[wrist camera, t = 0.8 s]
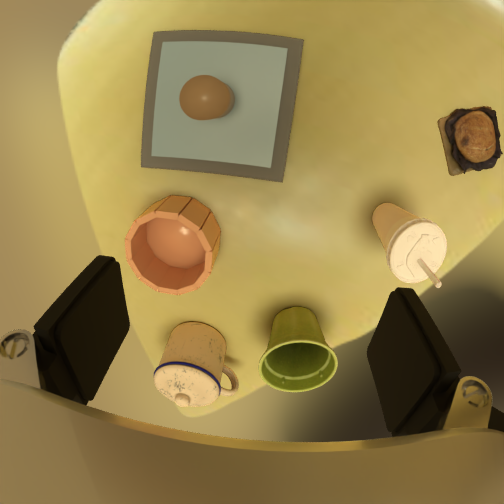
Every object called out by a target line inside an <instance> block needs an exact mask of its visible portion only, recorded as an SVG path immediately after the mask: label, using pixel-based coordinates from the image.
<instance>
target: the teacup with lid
mask: <svg viewBox="0 0 504 504" xmlns="http://www.w3.org/2000/svg"><path fill="white" fill-rule="evenodd" d="M225 353H226V343H225V340H224V338H223V337H222V335H221V334H220V333H219V332H218V331H217V330H215V329H214V328H212V327H210V326H208V325H206V324H203V323H198V322H187V323H183V324H180V325H178V326H177V327H176V328H175V329H174V330H173V331H172V333H171V335H170V338H169V340H168V343H167V346H166V348H165V351H164V353H163V356H162V358H161V361H160V364H159V366H158V367H157V368H156V370H155V372H154V382H155V385H156V387H157V389H158V390H159V391H160V392H161V393H162V394H163V395H164V396H165V397H167V398H168V399H170V400H172V401H174V402H175V403H176V404H177V405H178V406H181V407H187V406H193V407H198V406H205V405H209V404H211V403H213V402H214V401H215V400H216V399H217V398H218V396H219V395H220V394H221V395H223V396H231V395H233V394H235V393H236V392H237V390H238V386H239V384H238V379H237V377H236V375H235V373H234V372H233V371H232V370H231V369H230V368H228V367H227V366H225V365H223V364H224V358H225ZM222 372H223V373H225V374H226V375H227V376H228V377H229V379H230V381H231V384H232V389H231V390H228V389H225V388H222V387H221V386H220V382H221V376H222Z"/></svg>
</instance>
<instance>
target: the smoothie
mask: <svg viewBox="0 0 504 504" xmlns="http://www.w3.org/2000/svg"><path fill="white" fill-rule="evenodd" d="M372 222H373V225H374V227H375V229H376V231H377V234H378V236H379V238H380V240H381V242H382V245H383V247H384V249H385V252H386V254H387V255H386V258H387V263H388V266H389V268H390V270H391V271H392V272H393V273H394V275H395V276H396V277H397V278H398V279H399V280H401V281H403V282H406V283H417V282H421V281H423V280H426V279H427V278H430V279H431V281H432V282H433V283H434V285H435V286H436V287H437V288H439V287H441V282H440V281H439V279H438V278H437V277H436V276H435V274H434V273H435V272H436V271H437V270H438V269H439V267H440V266H441V264H442V262H443V260H444V258H445V255H446V250H447V241H446V237H445V235H444V233H443V231H442V230H441V229H440V228H439V227H438V225H437V224H436V223H434V222H433V221H431V220H429V219H425V218H419V217H417V216H415V215H413V214H411V213H410V212H408V211H406V210H404V209H402V208H400V207H398V206H396V205H394V204H392V203H383V204H381V205H379V206H378V207H377V208H376V209H375V210H374V212H373V215H372Z"/></svg>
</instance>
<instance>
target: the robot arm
mask: <svg viewBox="0 0 504 504" xmlns="http://www.w3.org/2000/svg"><path fill="white" fill-rule="evenodd" d="M129 326H130V322H129V316H128V311H127V306H126V300H125V295H124V289H123V283H122V276H121V269H120V264H119V262H116V260H115V258H114V257H109V256H102V255H99V256H97V257H96V258H95V259H94V260H93V261H92V262H91V263H90V264H89V265H88V266H87V267H86V268H85V269H84V270H83V271H82V272H81V273H80V274H79V275H78V277H77V278H76V279H75V280H74V281H73V282H72V283H71V284H70V285H69V286H68V287H67V288H66V289H65V291H64V292H63V293H62V294H61V295H60V296H59V297H58V298H57V300H56V301H55V302H54V303H53V304H52V305H51V306H50V308H49V309H48V310H47V311H46V312H45V313H44V314H43V316H42V317H41V318H40V319H39V320H38V322H37V323H36V324H35V325H34V329H35V332H34V334H33V335H32V334H31V333H30V332H29V331H26V330H21V329H18V330H13V331H10V332H8V333H7V334H5V335H4V336H3V337H2V338H1V339H0V504H504V413H502V412H501V411H499V410H497V409H496V408H494V407H492V394H491V391H490V389H489V388H488V386H487V385H486V384H485V383H484V382H483V381H482V380H480V379H478V378H476V377H471V376H467V377H464V378H463V379H461V380H460V379H459V377H458V375H459V374H460V372H461V369H460V368H459V366H458V364H457V362H456V360H455V358H454V356H453V355H452V353H451V351H450V349H449V347H448V345H447V344H446V342H445V340H444V338H443V337H442V335H441V333H440V331H439V330H438V328H437V326H436V325H435V323H434V321H433V320H432V318H431V316H430V315H429V313H428V311H427V310H426V308H425V307H424V305H423V303H422V302H421V300H420V299H419V297H418V296H417V294H416V293H415V291H414V290H413V289H411V288H400V287H398V288H396V290H395V291H392V292H391V293H390V295H389V298H388V301H387V303H386V306H385V308H384V311H383V313H382V316H381V318H380V321H379V323H378V325H377V328H376V330H375V332H374V335H373V337H372V339H371V342H370V344H369V346H368V349H367V357H368V361H369V364H370V368H371V371H372V374H373V378H374V381H375V385H376V388H377V392H378V396H379V399H380V403H381V406H382V410H383V414H384V418H385V422H386V426H387V429H388V431H389V432H392V436H393V437H391V438H382V439H372V440H360V441H345V442H275V441H260V440H247V439H237V438H228V437H220V436H212V435H206V434H199V433H193V432H188V431H182V430H177V429H171V428H167V427H162V426H158V425H153V424H149V423H145V422H141V421H137V420H133V419H129V418H125V417H122V416H118V415H115V414H112V413H108V412H105V411H102V410H99V409H96V408H92V407H89V406H86V405H87V403H88V401H91V400H93V399H94V396H95V395H96V393H97V391H98V389H99V387H100V385H101V383H102V381H103V379H104V376H105V375H106V373H107V371H108V369H109V367H110V365H111V363H112V361H113V359H114V357H115V355H116V353H117V352H118V350H119V348H120V346H121V344H122V342H123V340H124V338H125V337H126V335H127V333H128V331H129Z"/></svg>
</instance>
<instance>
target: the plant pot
mask: <svg viewBox="0 0 504 504" xmlns="http://www.w3.org/2000/svg"><path fill="white" fill-rule="evenodd" d="M337 365H338V362H337V358H336V354H335V353H334V351H333V350H332V349H331V348H330V347H329V346H328V344H327V343H326V342H325V339H324V336H323V334H322V331H321V329H320V326H319V323H318V321H317V318H316V316H315V315H314V313H313V312H312V311H310V310H309V309H307V308H304V307H292V308H289V309H285V310H282V311H281V312H279V313H278V314H277V315H276V317H275V319H274V322H273V326H272V331H271V335H270V340H269V344H268V348H267V350H266V351H265V353H264V354H263V355H262V357H261V359H260V362H259V367H258V370H259V374H260V377H261V378H262V380H263V381H264V382H265V383H266V384H268V385H269V386H271V387H273V388H275V389H277V390H281V391H285V392H303V391H308V390H312V389H315V388H317V387H319V386H321V385H323V384H325V383H326V382H327V381H329V380H330V379H331V377H332V376H333V375H334V374H335V372H336V369H337Z"/></svg>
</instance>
